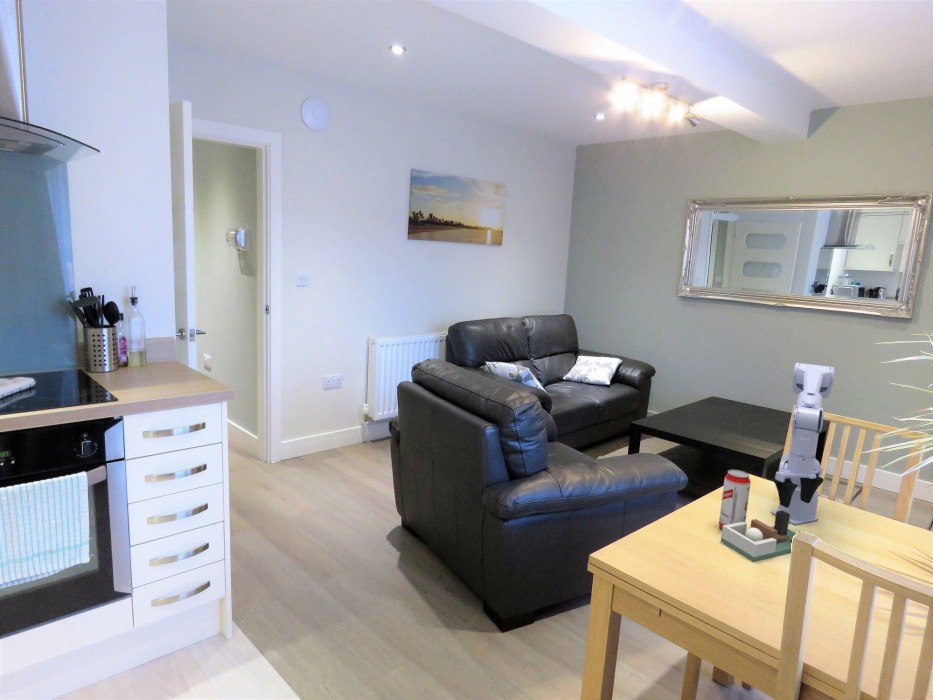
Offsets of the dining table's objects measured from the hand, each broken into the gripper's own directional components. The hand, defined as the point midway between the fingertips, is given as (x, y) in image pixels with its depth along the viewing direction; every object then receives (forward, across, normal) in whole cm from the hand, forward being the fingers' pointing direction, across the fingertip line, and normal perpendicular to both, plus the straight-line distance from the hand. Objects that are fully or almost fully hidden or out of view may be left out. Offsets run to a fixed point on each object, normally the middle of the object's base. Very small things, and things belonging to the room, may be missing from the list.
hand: (794, 503), depth 147 cm
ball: (+7, -13, 0) cm, 15 cm away
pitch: (+10, -8, 0) cm, 13 cm away
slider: (+8, -7, 0) cm, 11 cm away
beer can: (+10, -11, +9) cm, 17 cm away
